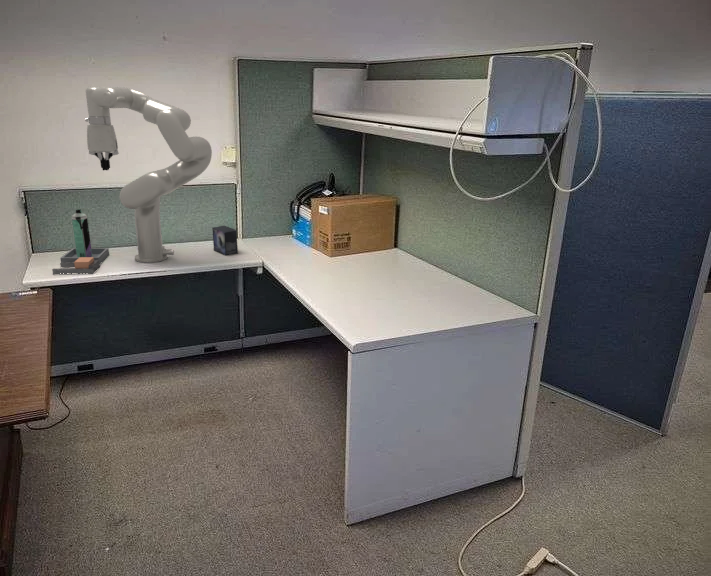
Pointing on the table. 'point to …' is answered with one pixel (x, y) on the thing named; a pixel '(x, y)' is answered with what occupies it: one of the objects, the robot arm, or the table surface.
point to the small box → (225, 240)
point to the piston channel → (90, 270)
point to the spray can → (81, 234)
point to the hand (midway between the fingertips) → (105, 169)
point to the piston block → (83, 262)
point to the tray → (97, 253)
